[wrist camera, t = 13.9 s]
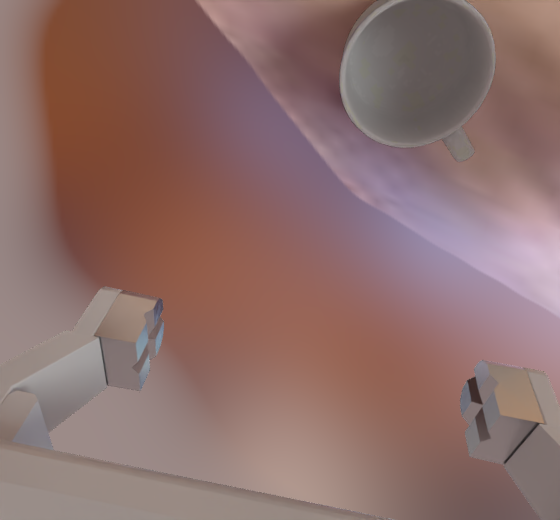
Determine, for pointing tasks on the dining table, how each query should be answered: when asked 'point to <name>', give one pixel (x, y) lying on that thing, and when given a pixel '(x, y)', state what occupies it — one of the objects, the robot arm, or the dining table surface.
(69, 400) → the robot arm
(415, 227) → the dining table surface
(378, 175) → the dining table surface
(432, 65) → the teacup
